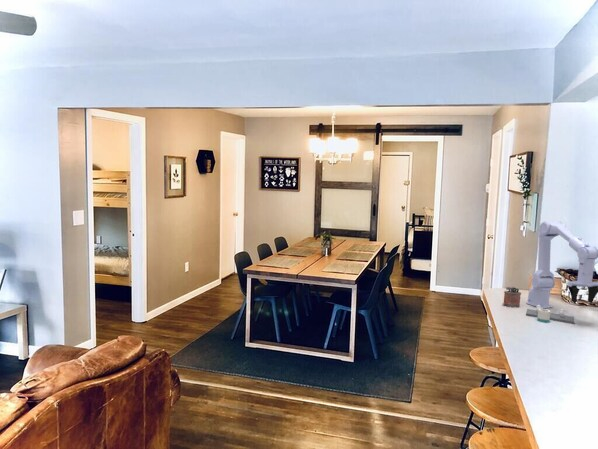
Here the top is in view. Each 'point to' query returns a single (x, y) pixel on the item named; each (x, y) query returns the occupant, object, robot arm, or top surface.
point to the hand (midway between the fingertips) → (581, 302)
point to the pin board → (552, 315)
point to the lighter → (512, 297)
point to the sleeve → (543, 315)
